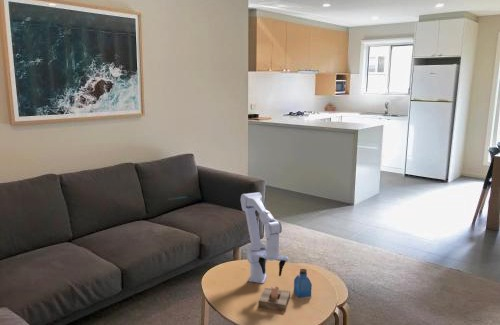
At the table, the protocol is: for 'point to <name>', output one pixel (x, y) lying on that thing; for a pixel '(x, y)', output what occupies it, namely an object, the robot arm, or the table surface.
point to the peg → (274, 292)
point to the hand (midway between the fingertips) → (272, 274)
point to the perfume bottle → (302, 284)
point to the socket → (274, 300)
